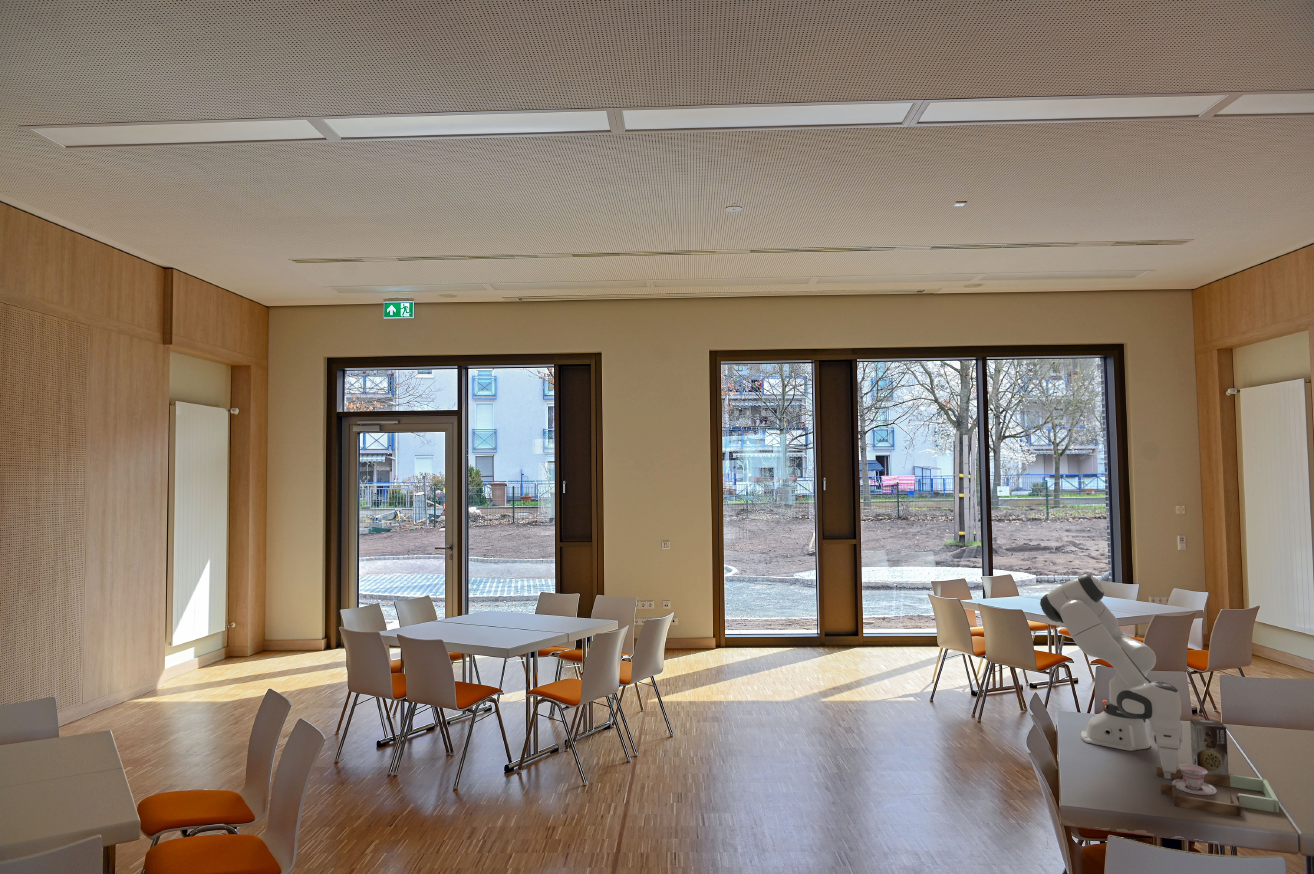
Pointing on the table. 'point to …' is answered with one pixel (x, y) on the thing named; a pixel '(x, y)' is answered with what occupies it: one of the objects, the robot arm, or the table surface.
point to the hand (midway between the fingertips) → (1167, 777)
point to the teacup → (1193, 780)
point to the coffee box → (1209, 746)
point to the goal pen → (1255, 801)
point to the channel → (1199, 803)
